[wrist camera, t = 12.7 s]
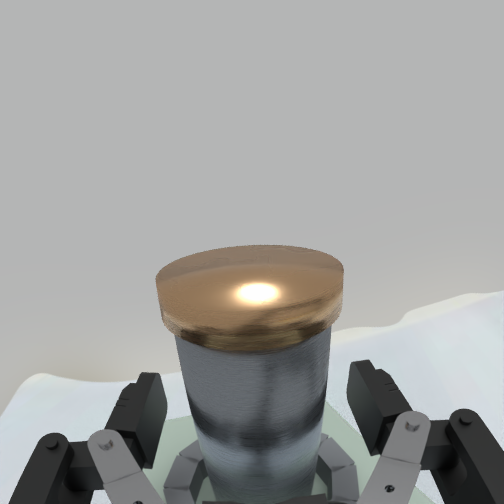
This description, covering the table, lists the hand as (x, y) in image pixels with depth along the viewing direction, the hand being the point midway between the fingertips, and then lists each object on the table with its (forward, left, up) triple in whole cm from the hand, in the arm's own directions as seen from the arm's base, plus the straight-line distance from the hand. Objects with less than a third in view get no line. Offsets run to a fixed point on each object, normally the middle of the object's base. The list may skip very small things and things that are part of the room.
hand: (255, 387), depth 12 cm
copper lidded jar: (0, +1, -8) cm, 9 cm away
